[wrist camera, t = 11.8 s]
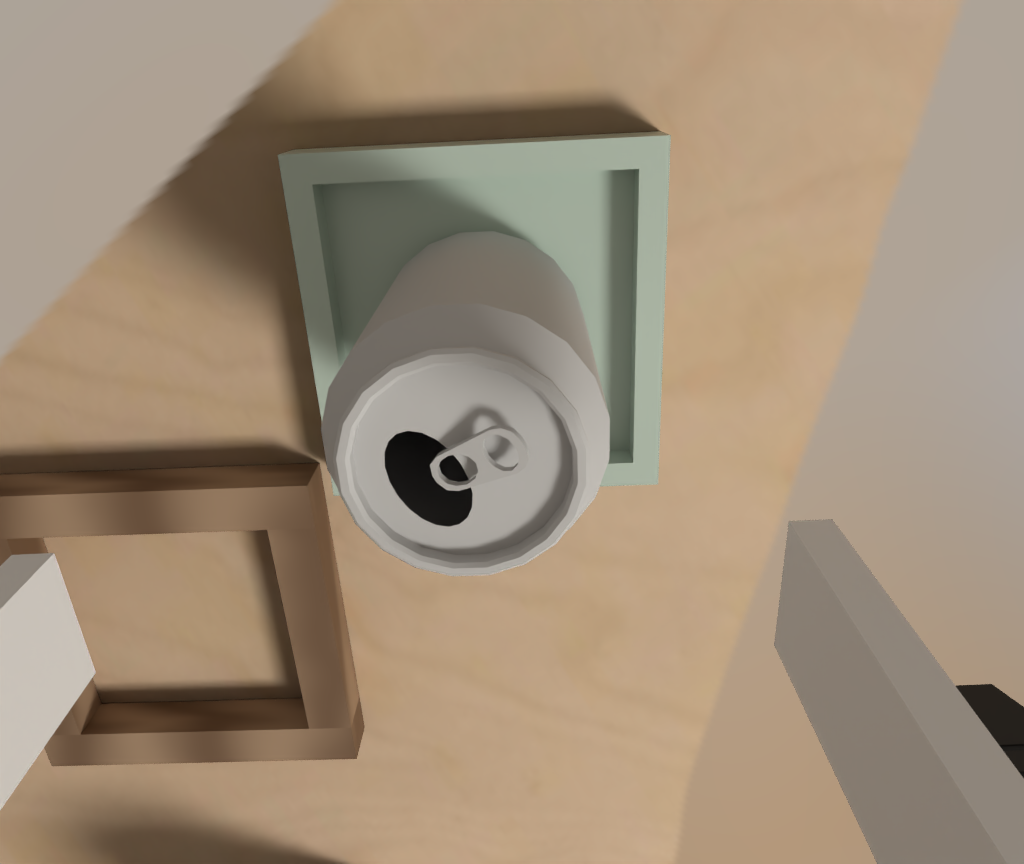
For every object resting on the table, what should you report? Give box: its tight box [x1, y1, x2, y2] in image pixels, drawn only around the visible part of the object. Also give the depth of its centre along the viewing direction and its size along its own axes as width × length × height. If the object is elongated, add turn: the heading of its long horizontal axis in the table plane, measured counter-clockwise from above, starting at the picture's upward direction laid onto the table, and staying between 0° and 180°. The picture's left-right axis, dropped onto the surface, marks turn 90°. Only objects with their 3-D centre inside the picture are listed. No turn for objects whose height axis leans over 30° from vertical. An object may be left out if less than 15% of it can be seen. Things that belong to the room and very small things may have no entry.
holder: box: [0, 463, 364, 766], centre depth 35 cm, size 15×15×2 cm
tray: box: [278, 131, 671, 496], centre depth 29 cm, size 13×13×2 cm
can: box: [321, 231, 610, 576], centre depth 24 cm, size 8×8×12 cm
